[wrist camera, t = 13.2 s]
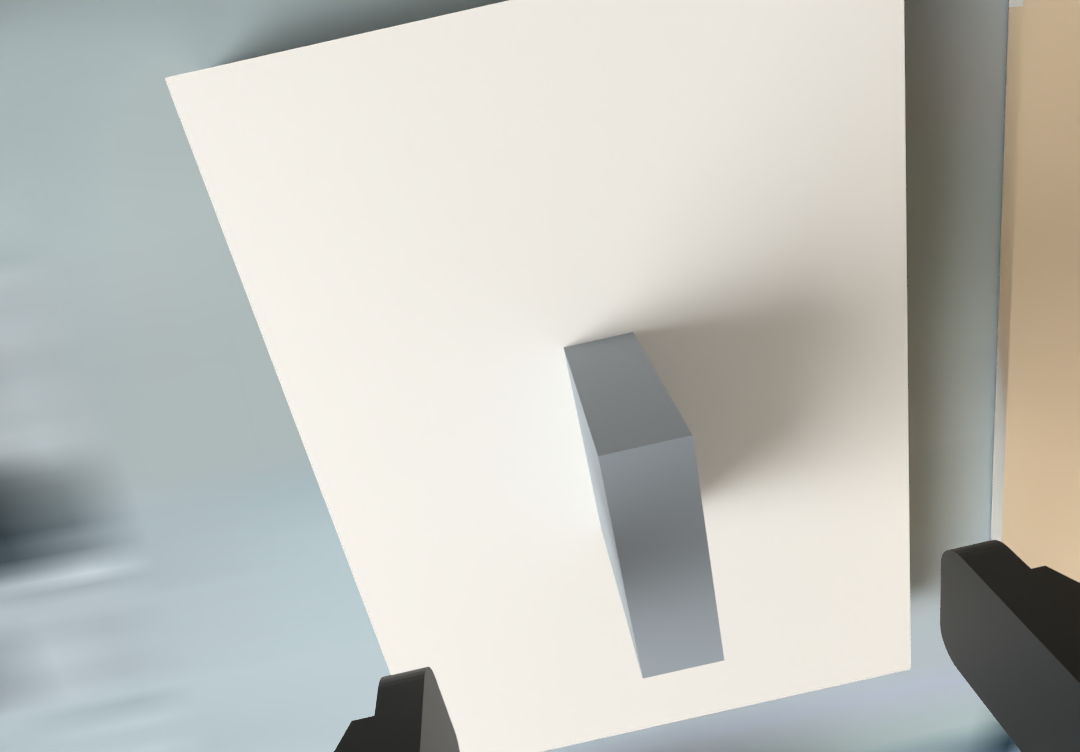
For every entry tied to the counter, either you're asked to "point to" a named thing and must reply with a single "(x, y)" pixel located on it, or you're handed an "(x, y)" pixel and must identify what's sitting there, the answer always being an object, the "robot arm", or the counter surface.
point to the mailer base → (1040, 292)
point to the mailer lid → (592, 343)
